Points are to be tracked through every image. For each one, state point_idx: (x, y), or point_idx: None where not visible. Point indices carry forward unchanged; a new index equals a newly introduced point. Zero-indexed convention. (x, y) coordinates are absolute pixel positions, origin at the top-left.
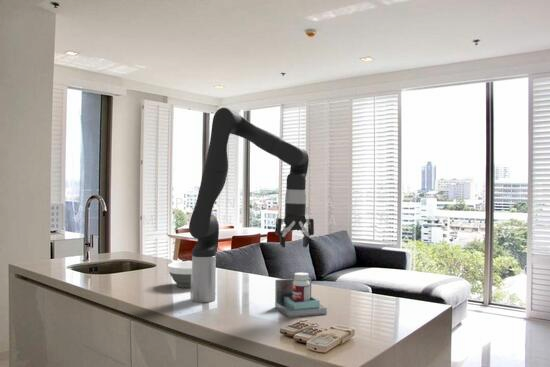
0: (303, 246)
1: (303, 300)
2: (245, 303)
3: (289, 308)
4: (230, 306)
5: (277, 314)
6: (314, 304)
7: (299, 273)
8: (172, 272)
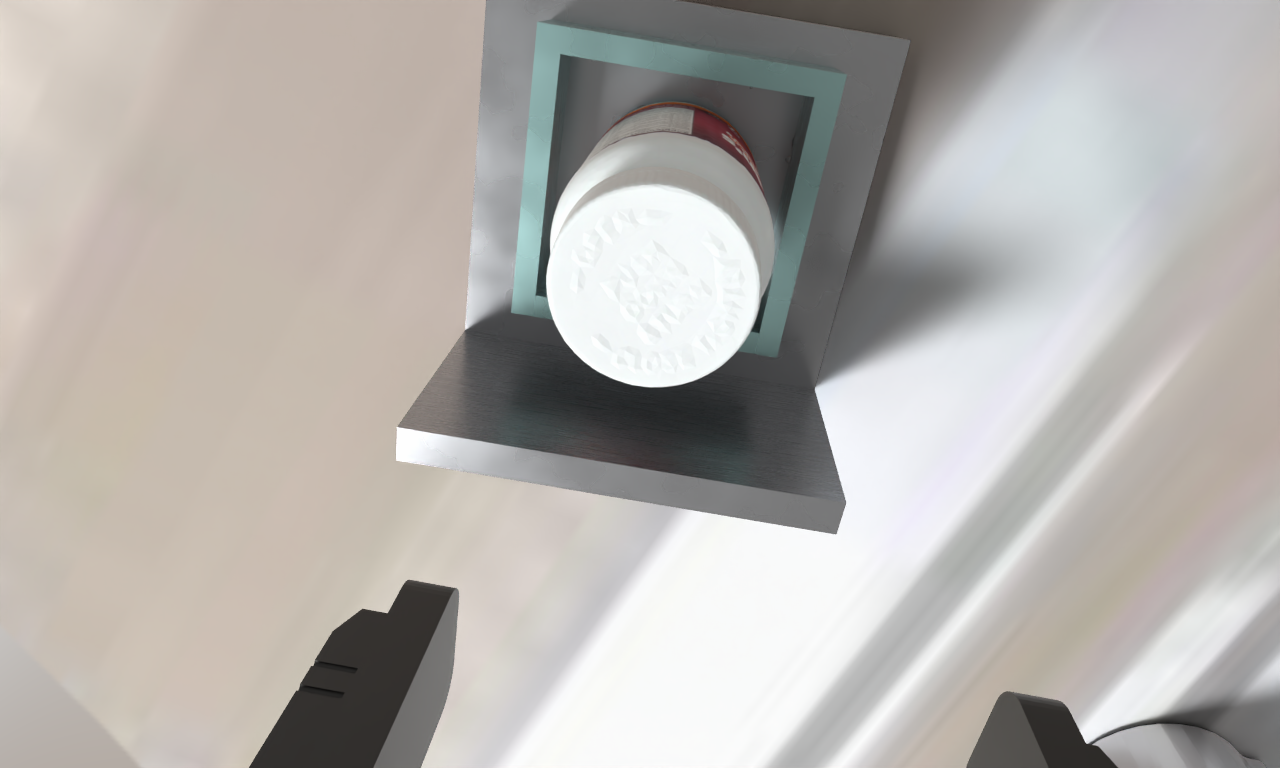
0: (450, 668)
1: (699, 111)
2: (944, 586)
3: (839, 143)
4: (1101, 566)
5: (928, 184)
6: (603, 31)
7: (667, 324)
8: None
